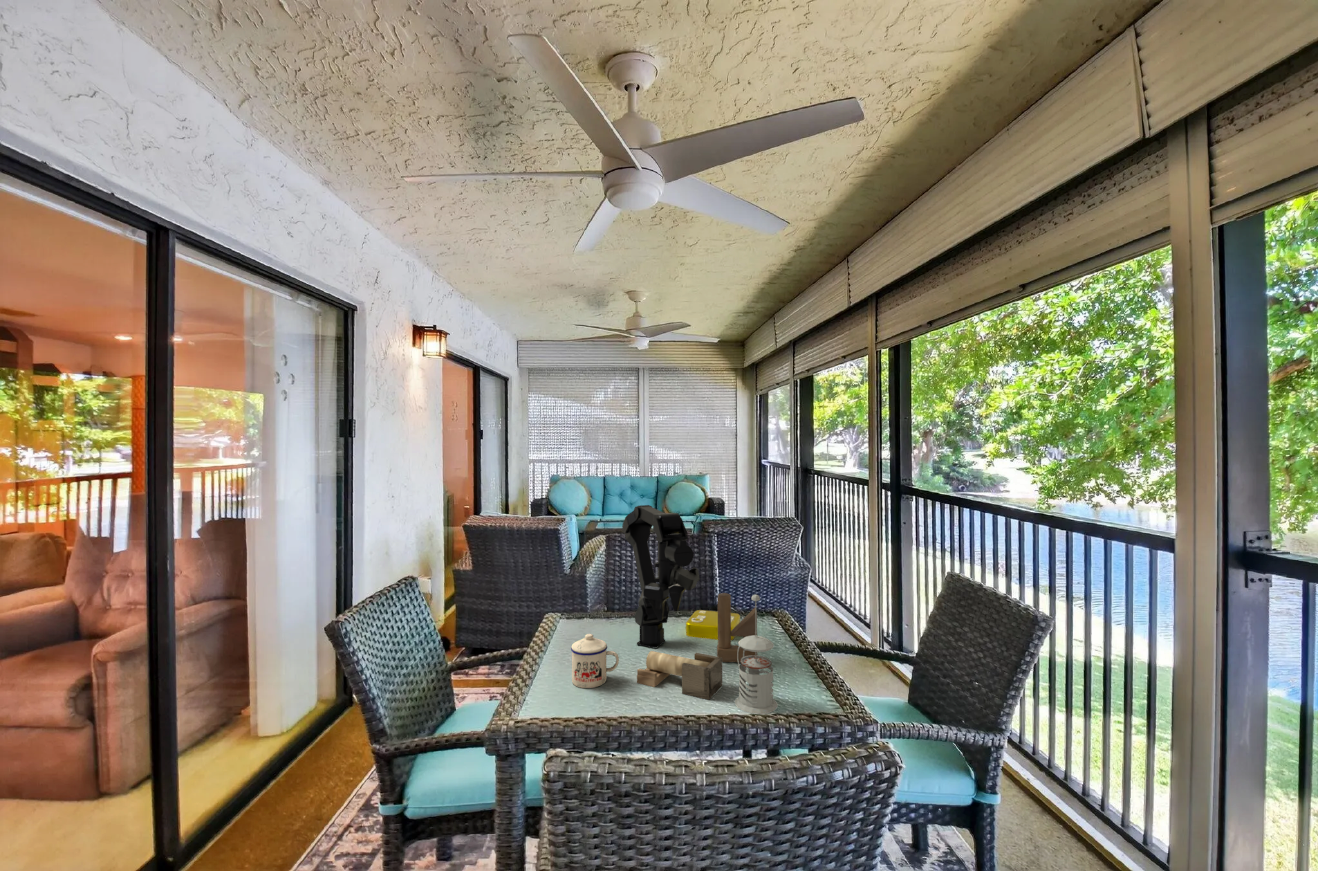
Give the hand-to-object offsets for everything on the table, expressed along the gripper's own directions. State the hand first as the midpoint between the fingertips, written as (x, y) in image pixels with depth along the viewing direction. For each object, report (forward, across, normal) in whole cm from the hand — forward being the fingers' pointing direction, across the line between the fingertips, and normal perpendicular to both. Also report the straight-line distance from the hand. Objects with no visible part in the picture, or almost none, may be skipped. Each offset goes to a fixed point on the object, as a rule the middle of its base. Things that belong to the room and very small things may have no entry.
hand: (668, 615), depth 155 cm
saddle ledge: (+12, -13, -2) cm, 18 cm away
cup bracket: (+12, -13, -16) cm, 24 cm away
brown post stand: (+12, +8, -17) cm, 22 cm away
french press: (+12, -13, -29) cm, 34 cm away
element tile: (+13, +27, -2) cm, 30 cm away
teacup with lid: (+12, -21, +10) cm, 26 cm away
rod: (+10, -13, -9) cm, 19 cm away
